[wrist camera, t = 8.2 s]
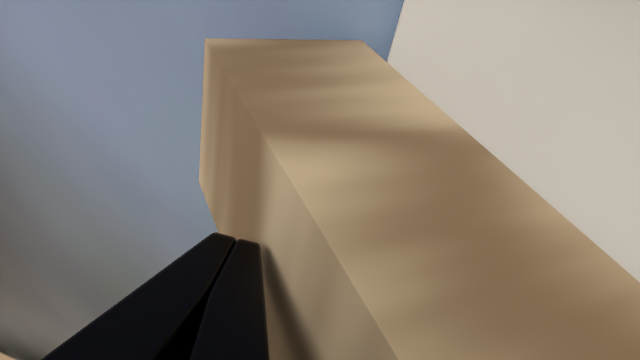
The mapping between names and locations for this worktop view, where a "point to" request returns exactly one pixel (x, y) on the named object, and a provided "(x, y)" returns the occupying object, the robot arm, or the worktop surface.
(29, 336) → the worktop surface
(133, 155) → the worktop surface
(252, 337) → the robot arm
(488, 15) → the mat
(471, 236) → the oak block
